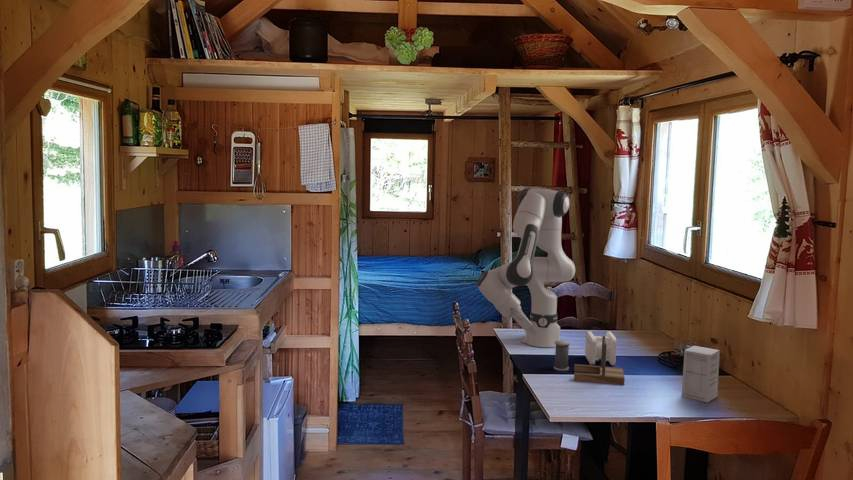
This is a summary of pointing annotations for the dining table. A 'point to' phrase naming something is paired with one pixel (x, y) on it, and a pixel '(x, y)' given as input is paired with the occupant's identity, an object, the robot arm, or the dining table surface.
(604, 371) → the wooden frame
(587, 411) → the dining table surface
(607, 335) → the cable organizer
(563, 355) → the grey mushroom bollard
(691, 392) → the supplement box
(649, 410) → the dining table surface
